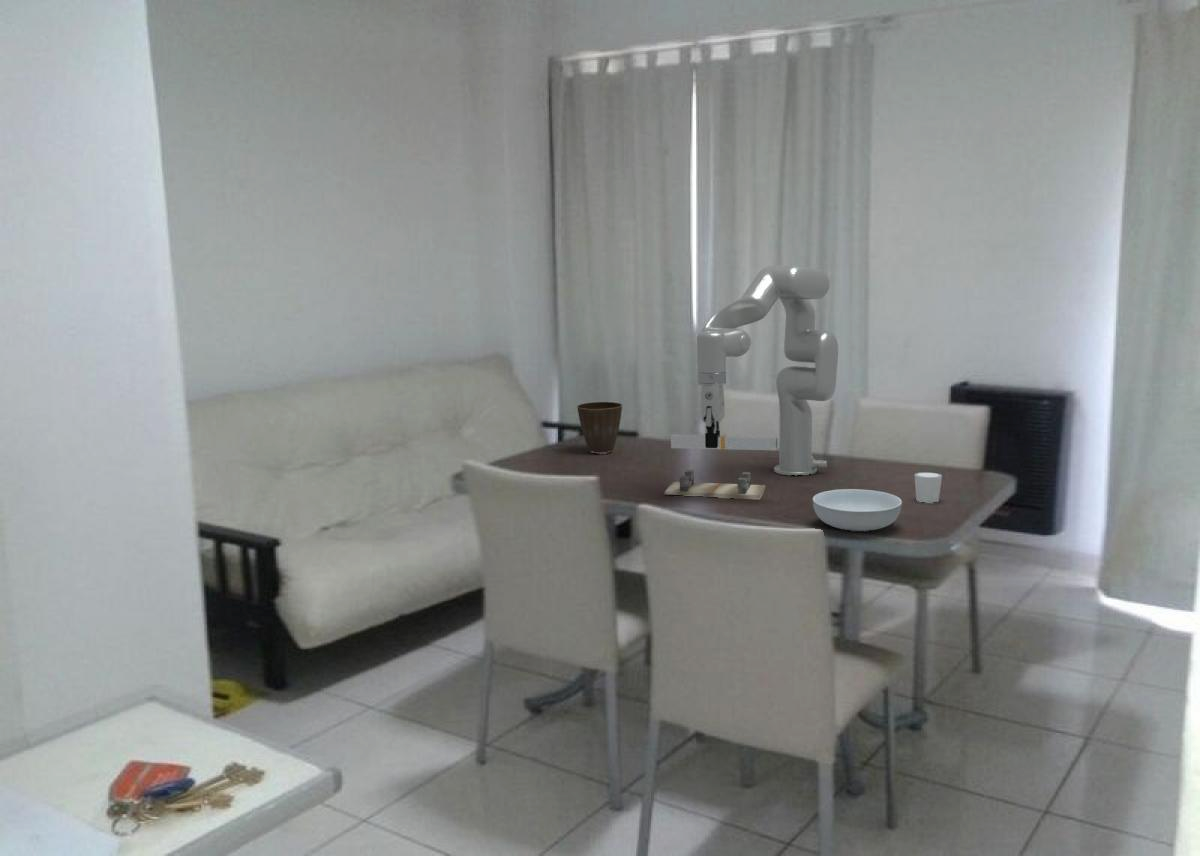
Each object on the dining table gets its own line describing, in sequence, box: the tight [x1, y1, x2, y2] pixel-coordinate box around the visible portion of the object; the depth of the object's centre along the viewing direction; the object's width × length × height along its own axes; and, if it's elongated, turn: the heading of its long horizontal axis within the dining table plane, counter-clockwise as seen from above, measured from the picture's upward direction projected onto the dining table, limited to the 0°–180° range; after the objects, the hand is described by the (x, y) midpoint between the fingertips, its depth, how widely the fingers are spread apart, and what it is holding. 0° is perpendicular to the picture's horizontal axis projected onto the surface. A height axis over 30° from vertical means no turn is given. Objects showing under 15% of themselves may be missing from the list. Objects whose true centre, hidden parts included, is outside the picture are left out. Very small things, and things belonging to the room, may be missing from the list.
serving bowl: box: [812, 488, 903, 532], centre depth 247 cm, size 21×21×7 cm
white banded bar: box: [670, 433, 778, 451], centre depth 274 cm, size 28×3×3 cm, turn 75°
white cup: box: [914, 471, 943, 504], centre depth 270 cm, size 7×7×7 cm
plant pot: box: [576, 401, 623, 452], centre depth 343 cm, size 15×15×16 cm
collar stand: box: [664, 469, 766, 501], centre depth 284 cm, size 26×12×5 cm, turn 74°
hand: (712, 445), depth 276 cm, fingers closed on white banded bar, 3 cm apart
